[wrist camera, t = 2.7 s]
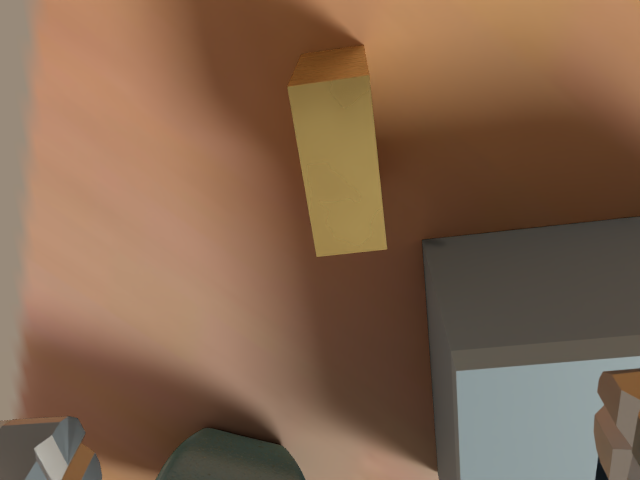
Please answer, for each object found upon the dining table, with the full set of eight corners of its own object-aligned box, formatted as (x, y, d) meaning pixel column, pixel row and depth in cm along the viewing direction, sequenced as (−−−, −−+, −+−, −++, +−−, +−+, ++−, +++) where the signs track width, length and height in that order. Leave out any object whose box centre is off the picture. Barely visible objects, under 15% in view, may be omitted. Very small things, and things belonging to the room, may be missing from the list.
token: (301, 53, 22) (287, 86, 17) (363, 44, 22) (369, 75, 16) (322, 191, 25) (316, 257, 19) (378, 184, 24) (387, 249, 19)
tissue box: (422, 240, 25) (456, 371, 18) (742, 205, 24) (939, 331, 16) (437, 472, 33) (467, 639, 25) (684, 457, 31) (799, 629, 23)
